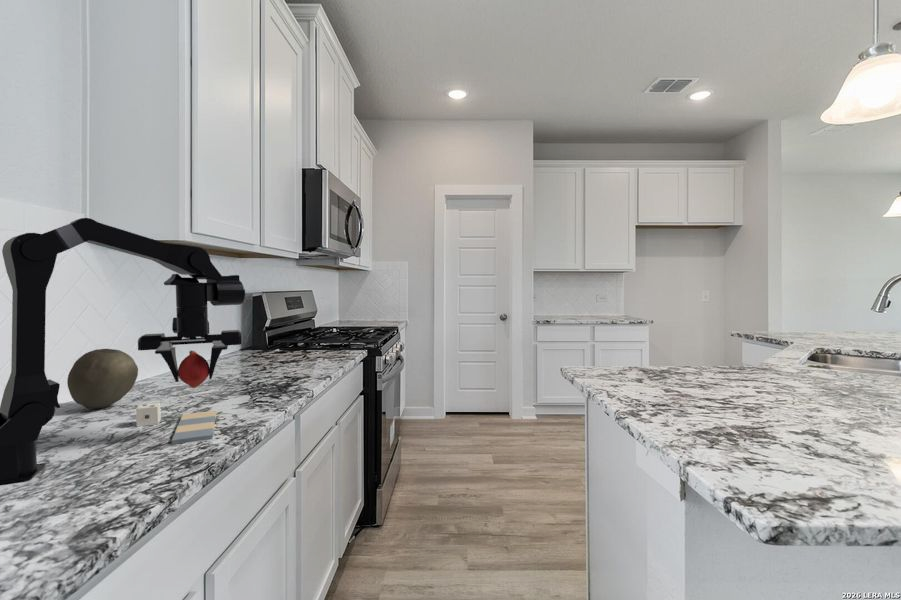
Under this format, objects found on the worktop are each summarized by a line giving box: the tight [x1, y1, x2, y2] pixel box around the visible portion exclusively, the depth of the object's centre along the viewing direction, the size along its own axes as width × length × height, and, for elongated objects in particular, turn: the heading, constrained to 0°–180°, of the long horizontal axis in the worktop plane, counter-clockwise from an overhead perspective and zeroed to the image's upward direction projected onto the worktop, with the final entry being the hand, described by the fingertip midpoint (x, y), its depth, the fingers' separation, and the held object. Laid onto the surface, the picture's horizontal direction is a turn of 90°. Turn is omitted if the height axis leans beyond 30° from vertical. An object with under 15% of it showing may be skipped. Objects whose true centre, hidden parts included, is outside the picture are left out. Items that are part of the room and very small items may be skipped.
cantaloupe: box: [66, 348, 139, 410], centre depth 117 cm, size 14×14×15 cm
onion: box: [178, 350, 210, 389], centre depth 96 cm, size 6×6×8 cm
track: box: [171, 410, 217, 445], centre depth 99 cm, size 20×7×1 cm, turn 25°
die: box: [135, 402, 162, 427], centre depth 103 cm, size 4×4×4 cm
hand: (194, 380), depth 96 cm, fingers closed on onion, 6 cm apart
